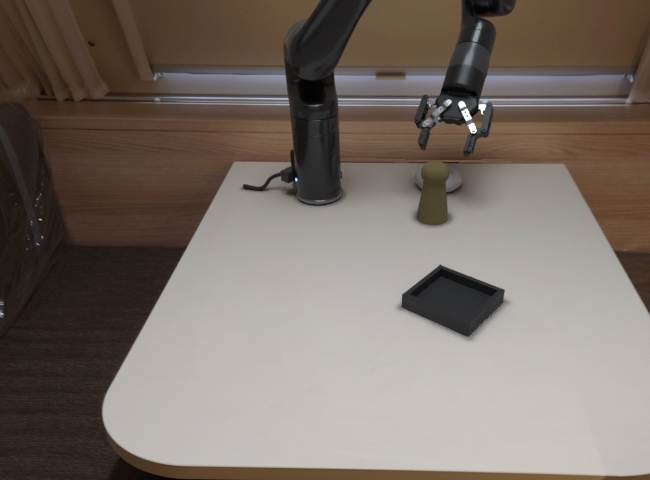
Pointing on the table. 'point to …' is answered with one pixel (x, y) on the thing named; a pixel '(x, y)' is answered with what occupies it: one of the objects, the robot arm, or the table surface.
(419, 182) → the donut
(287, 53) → the robot arm
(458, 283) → the tray
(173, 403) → the table surface
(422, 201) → the brown pawn piece
